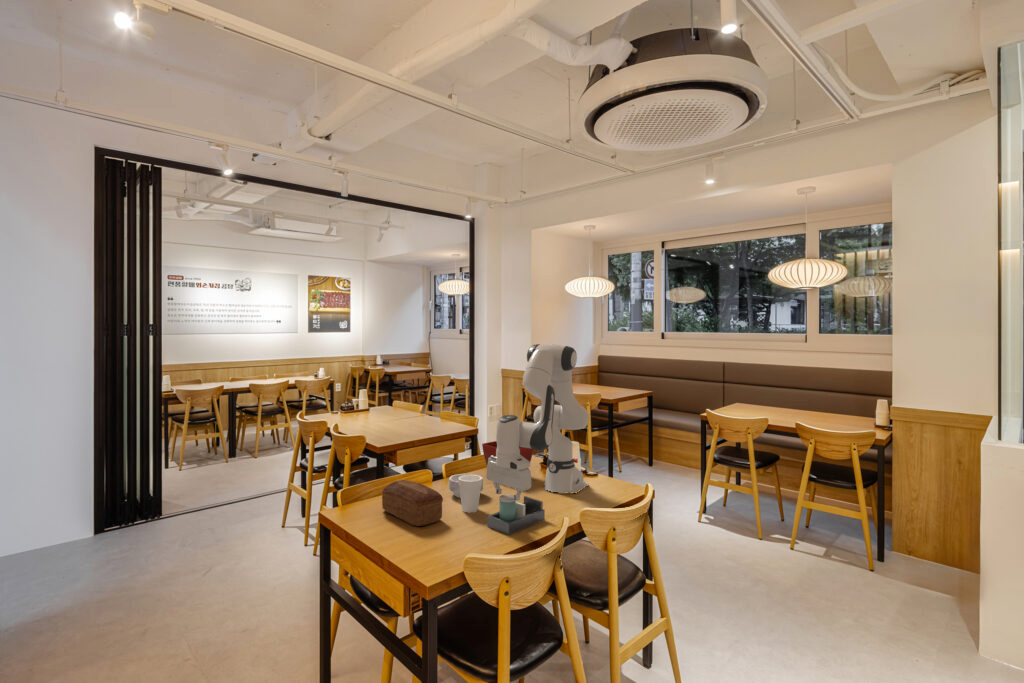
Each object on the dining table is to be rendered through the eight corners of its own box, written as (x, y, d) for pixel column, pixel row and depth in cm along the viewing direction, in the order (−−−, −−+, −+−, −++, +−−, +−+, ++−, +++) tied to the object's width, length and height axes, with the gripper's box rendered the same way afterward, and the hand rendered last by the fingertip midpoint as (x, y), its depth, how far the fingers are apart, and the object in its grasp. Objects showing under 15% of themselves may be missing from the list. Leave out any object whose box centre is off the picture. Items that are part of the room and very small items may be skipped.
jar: (495, 524, 181) (495, 497, 181) (507, 519, 185) (507, 493, 185) (507, 528, 177) (507, 501, 177) (519, 524, 181) (519, 497, 181)
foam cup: (485, 508, 200) (486, 477, 200) (472, 515, 192) (473, 482, 192) (467, 504, 205) (467, 473, 204) (453, 511, 197) (453, 479, 197)
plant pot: (506, 485, 231) (506, 450, 231) (480, 476, 245) (481, 443, 245) (534, 478, 244) (535, 444, 244) (509, 470, 258) (509, 438, 258)
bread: (416, 531, 176) (417, 497, 176) (376, 511, 196) (377, 480, 196) (447, 521, 186) (448, 489, 186) (406, 503, 206) (406, 474, 206)
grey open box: (523, 512, 196) (523, 495, 196) (544, 520, 188) (544, 502, 188) (487, 526, 181) (487, 507, 181) (508, 535, 174) (508, 515, 174)
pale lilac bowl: (485, 490, 223) (485, 473, 223) (479, 502, 208) (480, 483, 208) (452, 489, 225) (452, 472, 225) (444, 500, 210) (445, 481, 210)
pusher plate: (508, 516, 188) (509, 499, 188) (525, 522, 182) (525, 504, 182) (506, 517, 187) (506, 499, 187) (522, 523, 181) (523, 505, 181)
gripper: (482, 456, 186) (482, 492, 186) (522, 466, 172) (522, 505, 172) (494, 453, 190) (494, 488, 191) (534, 463, 176) (533, 501, 177)
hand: (507, 496), depth 181 cm, fingers open, 8 cm apart
